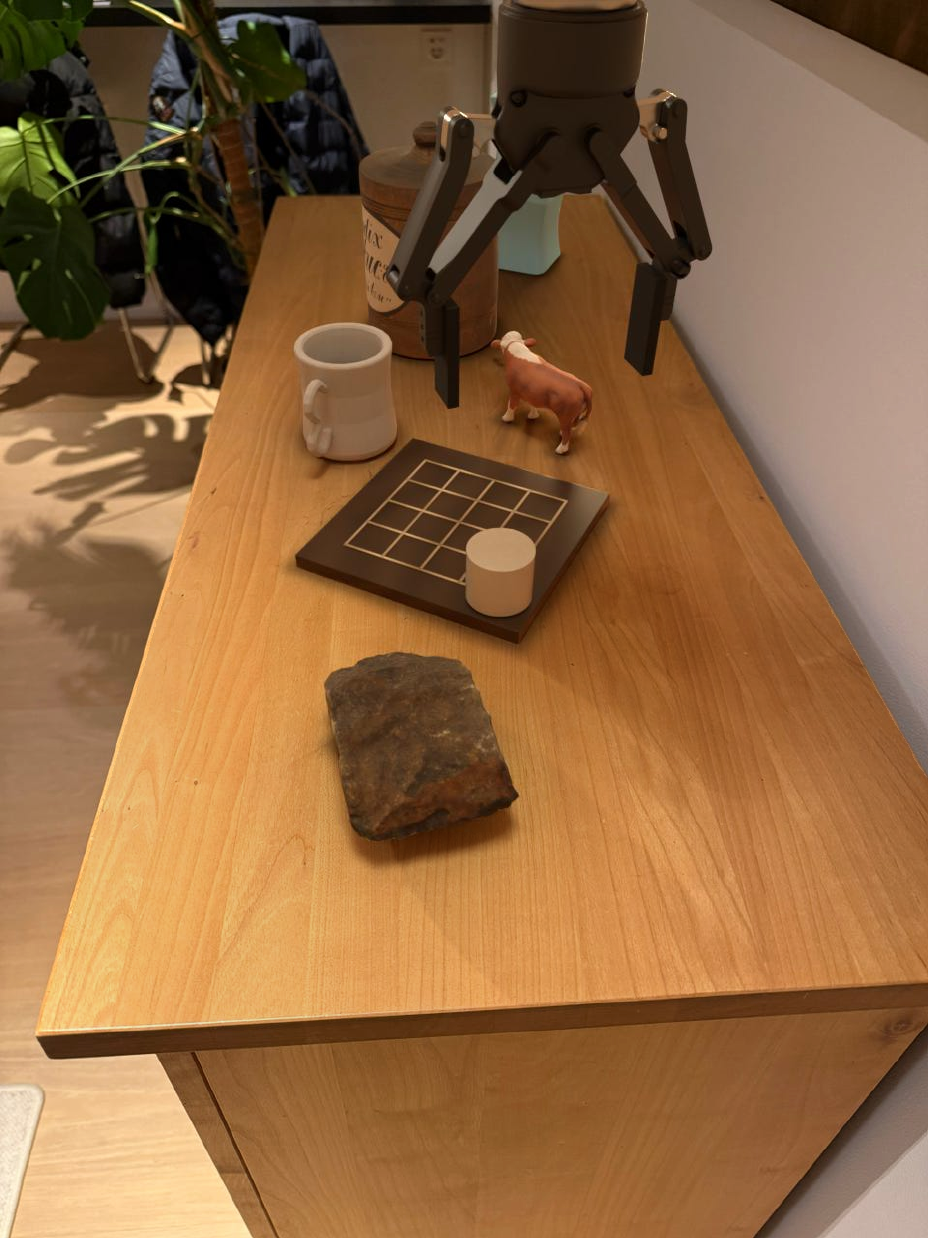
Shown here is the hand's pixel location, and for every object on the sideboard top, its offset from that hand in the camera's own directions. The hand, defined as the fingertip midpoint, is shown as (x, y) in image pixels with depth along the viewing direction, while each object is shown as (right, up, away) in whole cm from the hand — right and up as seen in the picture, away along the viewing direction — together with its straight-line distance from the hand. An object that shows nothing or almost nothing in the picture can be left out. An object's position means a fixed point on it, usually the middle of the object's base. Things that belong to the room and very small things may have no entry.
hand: (545, 382), depth 60 cm
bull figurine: (+2, +4, +31) cm, 32 cm away
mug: (-17, +1, +28) cm, 33 cm away
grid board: (-6, -8, +18) cm, 21 cm away
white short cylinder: (-3, -14, +11) cm, 18 cm away
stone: (-8, -26, 0) cm, 27 cm away
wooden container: (-9, +18, +47) cm, 51 cm away
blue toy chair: (+3, +32, +62) cm, 70 cm away
